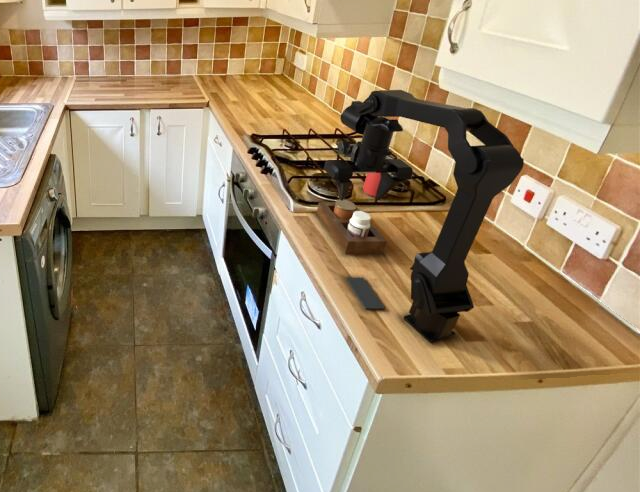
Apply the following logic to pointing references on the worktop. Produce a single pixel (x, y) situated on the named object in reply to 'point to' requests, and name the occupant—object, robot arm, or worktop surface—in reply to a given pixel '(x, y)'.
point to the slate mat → (365, 294)
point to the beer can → (372, 182)
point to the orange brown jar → (344, 209)
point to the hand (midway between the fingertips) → (359, 199)
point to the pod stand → (339, 232)
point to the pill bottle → (359, 224)
